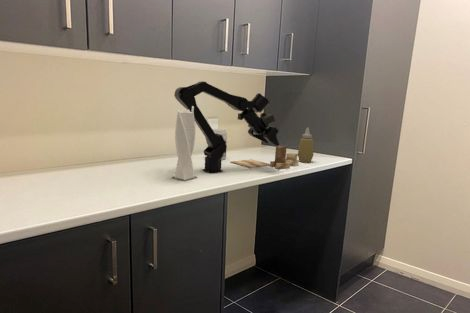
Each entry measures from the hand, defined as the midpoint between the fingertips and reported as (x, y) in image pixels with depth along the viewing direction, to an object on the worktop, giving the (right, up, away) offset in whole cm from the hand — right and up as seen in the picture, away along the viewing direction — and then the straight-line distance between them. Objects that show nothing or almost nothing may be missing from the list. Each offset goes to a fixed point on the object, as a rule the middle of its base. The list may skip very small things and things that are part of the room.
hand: (272, 144), depth 154 cm
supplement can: (-26, -7, +19) cm, 33 cm away
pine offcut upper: (+10, -7, +10) cm, 16 cm away
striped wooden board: (-10, -9, +9) cm, 16 cm away
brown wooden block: (+4, -11, +4) cm, 12 cm away
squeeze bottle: (+19, -9, +21) cm, 30 cm away
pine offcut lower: (+10, -10, +11) cm, 18 cm away
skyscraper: (-37, -14, -25) cm, 47 cm away
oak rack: (+4, -11, +4) cm, 12 cm away
